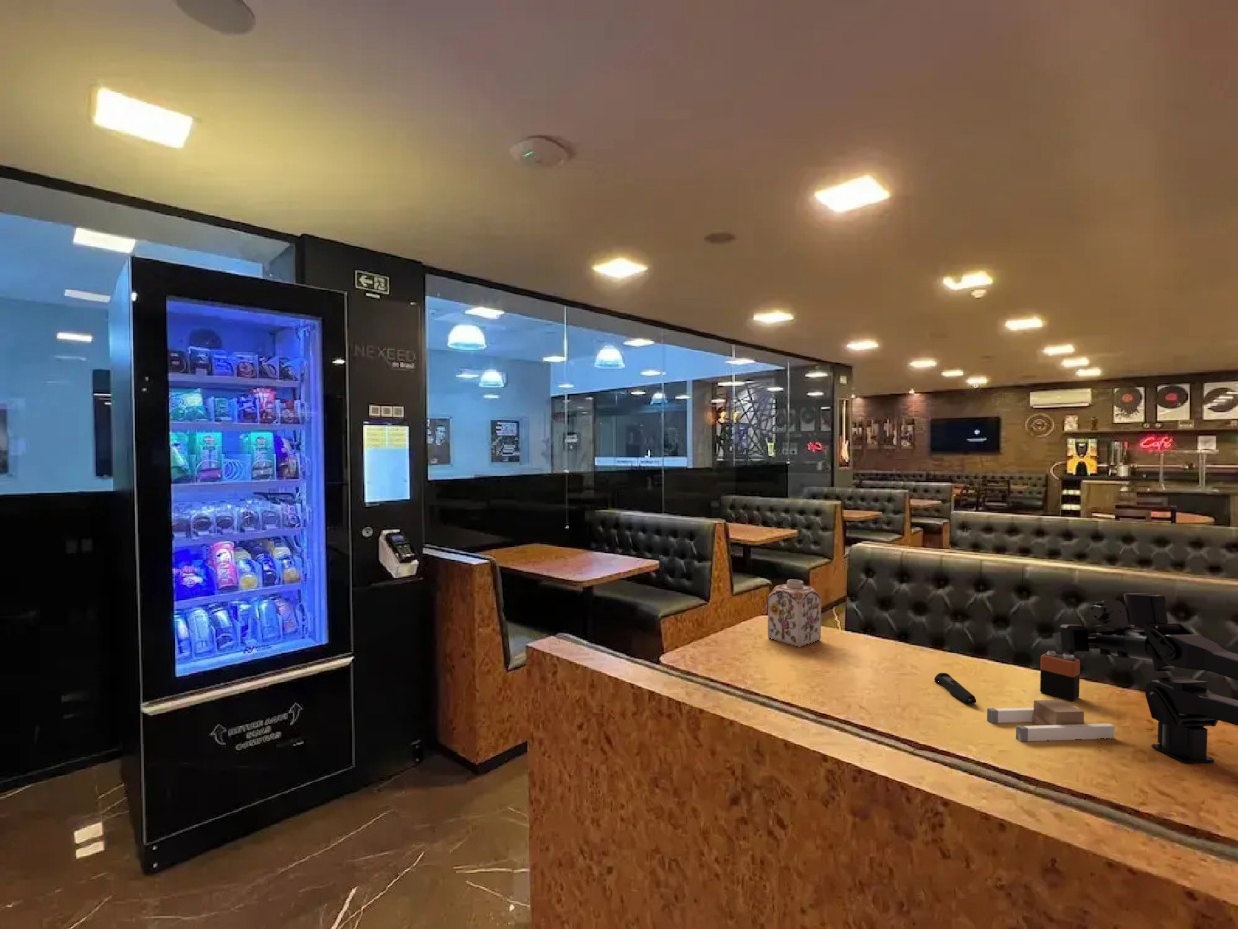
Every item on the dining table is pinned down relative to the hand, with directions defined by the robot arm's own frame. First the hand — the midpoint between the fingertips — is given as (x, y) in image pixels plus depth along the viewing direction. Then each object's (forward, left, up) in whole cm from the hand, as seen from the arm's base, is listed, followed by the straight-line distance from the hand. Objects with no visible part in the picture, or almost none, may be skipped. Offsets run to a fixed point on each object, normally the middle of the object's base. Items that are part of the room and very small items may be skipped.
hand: (1071, 636), depth 141 cm
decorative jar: (+50, +46, -16) cm, 70 cm away
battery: (+4, -1, -15) cm, 16 cm away
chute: (-13, +16, -15) cm, 26 cm away
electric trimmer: (+7, +23, -16) cm, 29 cm away
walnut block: (-13, +14, -15) cm, 25 cm away
